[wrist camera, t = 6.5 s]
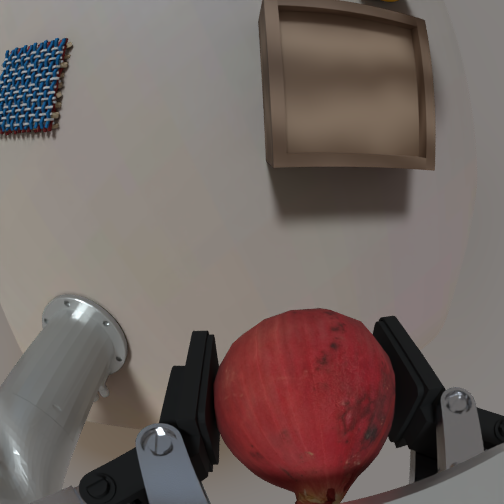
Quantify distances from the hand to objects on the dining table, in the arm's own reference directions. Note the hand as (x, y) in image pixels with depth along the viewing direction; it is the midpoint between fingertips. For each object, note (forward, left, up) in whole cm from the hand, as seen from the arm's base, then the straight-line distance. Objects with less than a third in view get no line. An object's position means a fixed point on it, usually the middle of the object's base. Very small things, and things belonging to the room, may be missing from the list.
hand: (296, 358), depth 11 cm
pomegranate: (0, 0, -2) cm, 2 cm away
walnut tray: (+12, -8, -20) cm, 24 cm away
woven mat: (+17, +24, -20) cm, 36 cm away
